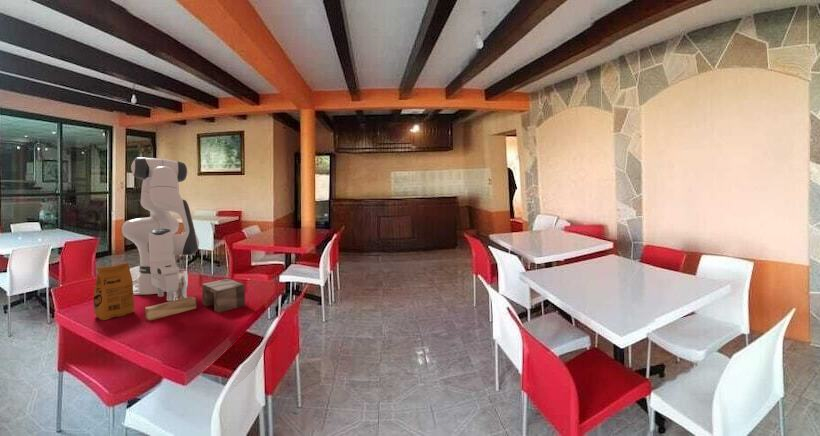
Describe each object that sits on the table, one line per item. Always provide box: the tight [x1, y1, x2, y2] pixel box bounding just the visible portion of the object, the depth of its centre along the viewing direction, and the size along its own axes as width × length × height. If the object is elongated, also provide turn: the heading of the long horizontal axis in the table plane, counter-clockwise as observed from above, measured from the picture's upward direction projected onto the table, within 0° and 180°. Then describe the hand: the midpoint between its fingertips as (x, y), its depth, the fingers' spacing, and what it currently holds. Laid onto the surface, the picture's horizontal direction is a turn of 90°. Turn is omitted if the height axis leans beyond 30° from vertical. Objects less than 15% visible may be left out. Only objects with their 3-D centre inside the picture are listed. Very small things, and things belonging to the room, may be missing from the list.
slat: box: [144, 295, 197, 321], centre depth 150 cm, size 4×18×5 cm, turn 145°
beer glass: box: [172, 268, 189, 301], centre depth 164 cm, size 7×7×15 cm
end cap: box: [201, 278, 246, 314], centre depth 161 cm, size 16×12×10 cm
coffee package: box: [93, 262, 135, 321], centre depth 146 cm, size 10×12×22 cm
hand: (165, 298), depth 147 cm, fingers open, 8 cm apart
